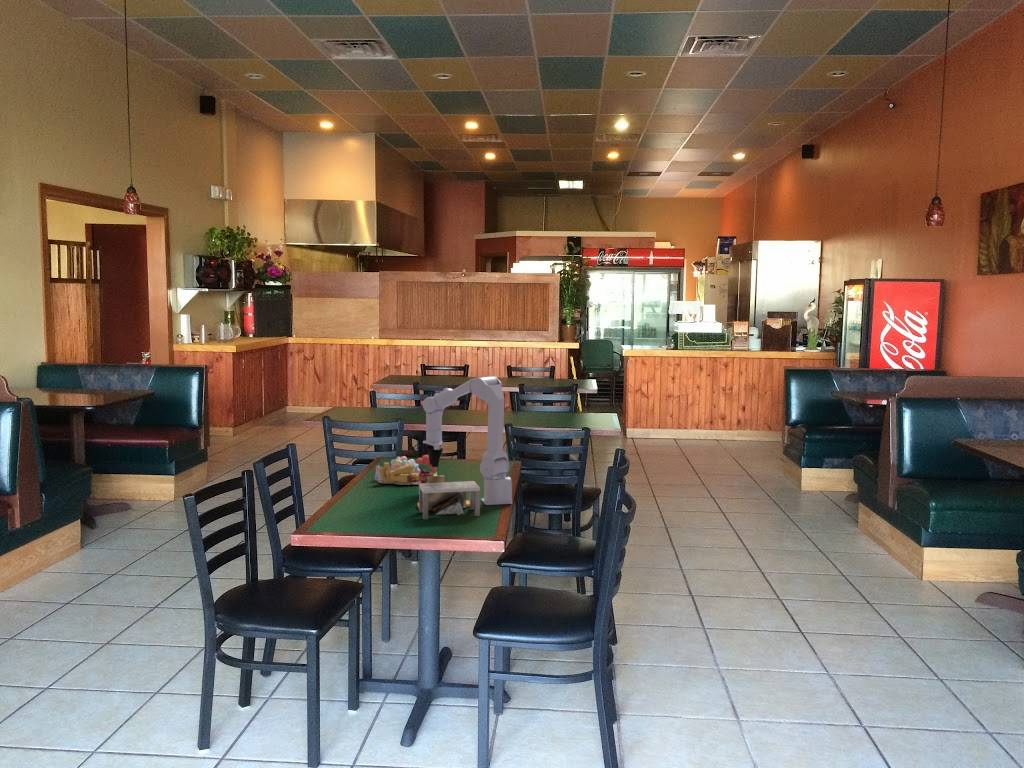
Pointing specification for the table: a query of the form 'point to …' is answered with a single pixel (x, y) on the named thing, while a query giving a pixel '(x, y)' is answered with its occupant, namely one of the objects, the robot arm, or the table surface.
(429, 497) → the sled
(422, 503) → the tunnel
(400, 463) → the candy landscape model
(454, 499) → the chocolate cake
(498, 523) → the table surface
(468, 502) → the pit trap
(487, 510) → the table surface
